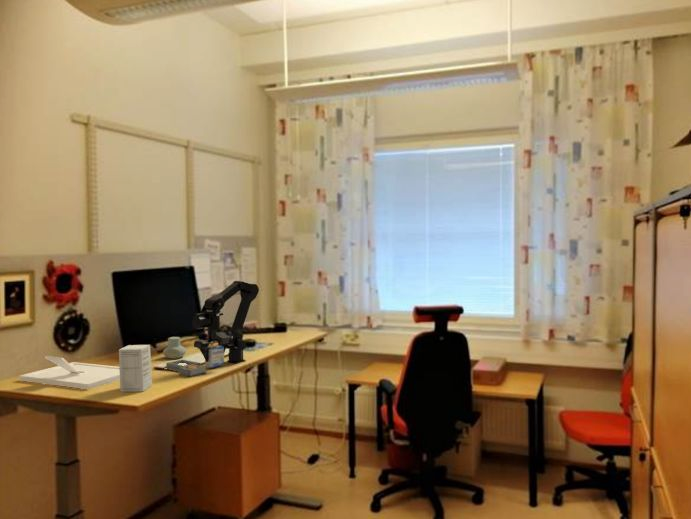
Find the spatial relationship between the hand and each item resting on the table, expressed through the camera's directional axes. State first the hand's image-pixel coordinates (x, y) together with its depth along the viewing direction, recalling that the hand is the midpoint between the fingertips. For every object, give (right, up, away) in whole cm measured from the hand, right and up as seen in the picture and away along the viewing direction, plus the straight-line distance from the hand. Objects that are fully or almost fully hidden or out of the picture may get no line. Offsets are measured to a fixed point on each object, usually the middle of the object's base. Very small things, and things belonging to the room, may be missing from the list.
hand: (214, 359), depth 263 cm
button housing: (-7, -4, -12) cm, 15 cm away
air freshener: (-25, -3, +23) cm, 34 cm away
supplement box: (-23, -6, -35) cm, 42 cm away
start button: (-7, -3, -12) cm, 14 cm away
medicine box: (0, -3, 0) cm, 3 cm away
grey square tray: (-14, -4, 0) cm, 15 cm away
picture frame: (-54, -6, -15) cm, 57 cm away
